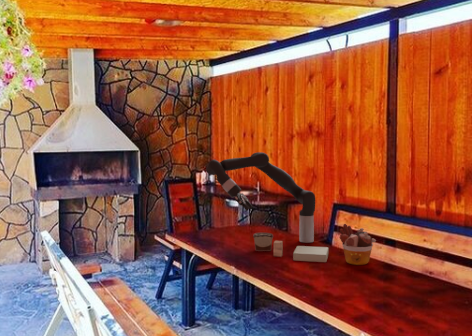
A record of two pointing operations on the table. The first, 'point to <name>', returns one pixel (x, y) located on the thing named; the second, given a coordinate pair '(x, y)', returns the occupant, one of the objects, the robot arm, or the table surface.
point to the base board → (310, 254)
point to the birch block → (278, 248)
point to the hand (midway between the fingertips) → (249, 208)
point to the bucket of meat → (356, 245)
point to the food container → (263, 241)
